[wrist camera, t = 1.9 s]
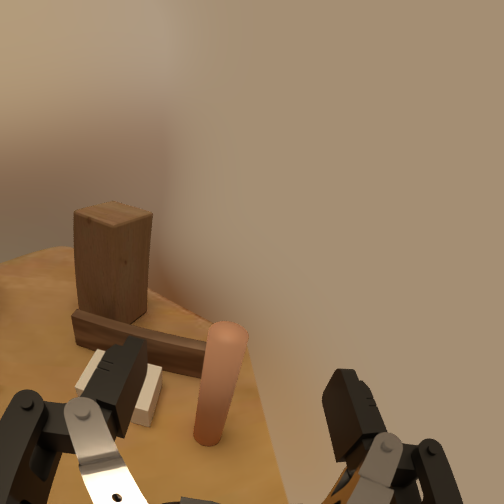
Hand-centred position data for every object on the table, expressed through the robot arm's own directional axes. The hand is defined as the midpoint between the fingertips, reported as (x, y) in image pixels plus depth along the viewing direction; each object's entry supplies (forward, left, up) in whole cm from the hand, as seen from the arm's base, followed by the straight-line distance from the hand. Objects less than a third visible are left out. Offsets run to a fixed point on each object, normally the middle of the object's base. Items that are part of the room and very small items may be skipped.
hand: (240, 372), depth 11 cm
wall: (-24, +8, -25) cm, 36 cm away
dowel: (-7, +8, -25) cm, 27 cm away
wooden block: (-37, +10, -25) cm, 46 cm away
